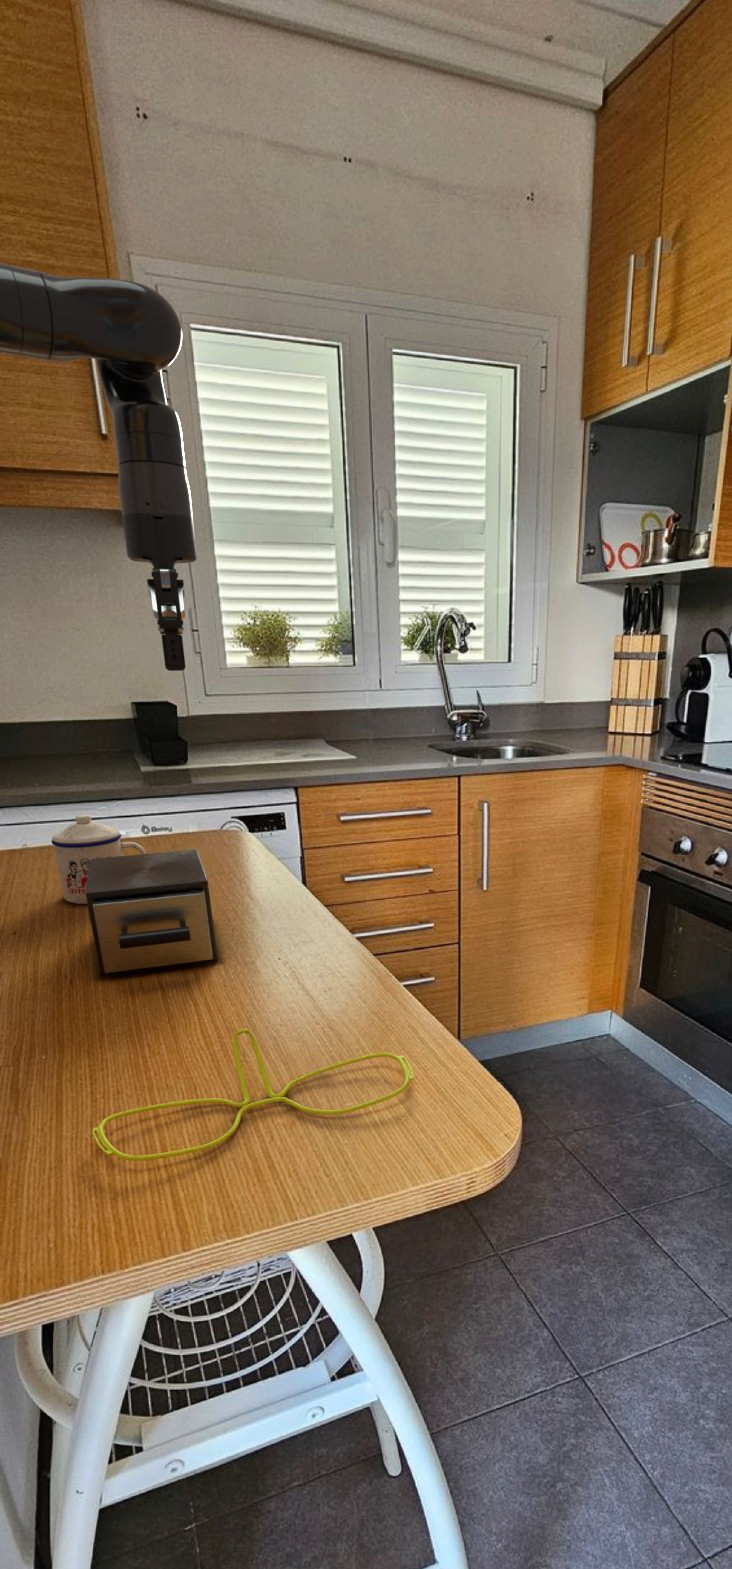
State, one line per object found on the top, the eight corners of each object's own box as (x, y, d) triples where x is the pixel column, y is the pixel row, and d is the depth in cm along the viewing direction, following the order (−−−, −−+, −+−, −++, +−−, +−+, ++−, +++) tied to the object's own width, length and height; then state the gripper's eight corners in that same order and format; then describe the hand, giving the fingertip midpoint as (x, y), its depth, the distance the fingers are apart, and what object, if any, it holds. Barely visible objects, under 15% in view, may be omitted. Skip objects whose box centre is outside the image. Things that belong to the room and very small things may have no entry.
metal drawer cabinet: (217, 961, 97) (207, 880, 93) (100, 976, 93) (85, 893, 89) (206, 920, 110) (197, 849, 107) (103, 932, 106) (90, 858, 103)
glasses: (101, 1183, 58) (89, 1123, 56) (89, 1115, 66) (78, 1061, 64) (430, 1097, 68) (429, 1044, 66) (384, 1047, 76) (382, 999, 74)
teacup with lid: (62, 908, 116) (46, 824, 111) (62, 891, 123) (47, 812, 119) (153, 897, 120) (141, 816, 116) (148, 881, 128) (136, 805, 123)
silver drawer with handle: (216, 973, 91) (208, 904, 88) (104, 989, 87) (91, 917, 84) (202, 921, 107) (194, 861, 104) (107, 932, 104) (96, 870, 101)
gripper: (124, 520, 99) (143, 666, 105) (118, 504, 86) (140, 672, 92) (191, 522, 101) (205, 666, 107) (194, 507, 88) (210, 671, 94)
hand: (175, 668), depth 99 cm, fingers open, 8 cm apart
